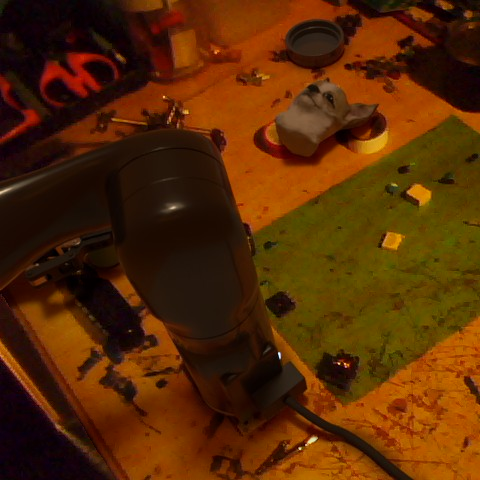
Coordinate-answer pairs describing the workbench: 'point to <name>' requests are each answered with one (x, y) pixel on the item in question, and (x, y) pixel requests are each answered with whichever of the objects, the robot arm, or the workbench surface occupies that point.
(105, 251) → the green can
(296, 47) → the dark grey jar lid
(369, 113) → the ceramic sculpture
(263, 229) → the workbench surface
